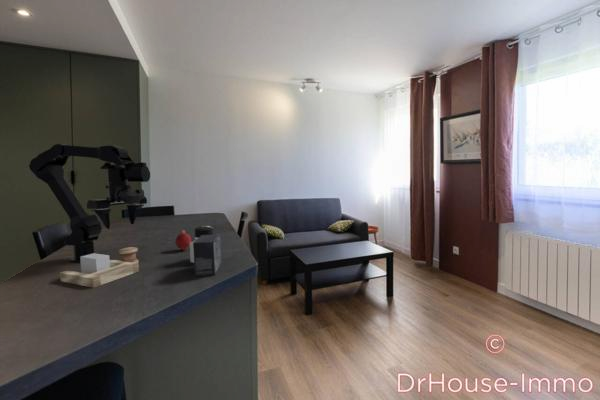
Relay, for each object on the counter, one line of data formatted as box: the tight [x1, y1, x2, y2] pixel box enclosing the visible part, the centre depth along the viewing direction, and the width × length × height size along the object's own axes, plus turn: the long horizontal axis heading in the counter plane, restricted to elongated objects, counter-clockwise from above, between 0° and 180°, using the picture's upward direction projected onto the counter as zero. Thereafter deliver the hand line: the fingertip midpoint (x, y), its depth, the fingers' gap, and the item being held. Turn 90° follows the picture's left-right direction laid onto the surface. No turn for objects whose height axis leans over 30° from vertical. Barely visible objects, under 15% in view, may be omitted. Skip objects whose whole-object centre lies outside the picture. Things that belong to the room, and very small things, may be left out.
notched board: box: [59, 258, 140, 288], centre depth 88 cm, size 14×14×2 cm
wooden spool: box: [118, 246, 139, 264], centre depth 99 cm, size 6×6×5 cm
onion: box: [175, 230, 192, 251], centre depth 116 cm, size 6×6×8 cm
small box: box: [192, 233, 223, 277], centre depth 92 cm, size 11×6×10 cm, turn 5°
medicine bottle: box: [189, 225, 214, 264], centre depth 102 cm, size 7×7×12 cm
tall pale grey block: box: [80, 252, 110, 274], centre depth 88 cm, size 7×4×6 cm, turn 69°
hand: (120, 226), depth 104 cm, fingers open, 9 cm apart
